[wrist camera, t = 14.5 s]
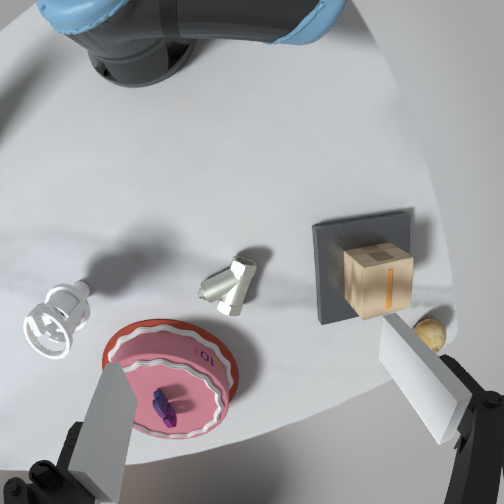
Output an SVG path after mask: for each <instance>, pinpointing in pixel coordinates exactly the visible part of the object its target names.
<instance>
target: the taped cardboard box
mask: <svg viewBox="0 0 504 504" xmlns="http://www.w3.org/2000/svg"><path fill="white" fill-rule="evenodd" d="M413 262H414V257H413V256H411V255H410V254H408V253H406V252H405V251H403V250H401V249H400V248H398V247H397V246H395V245H393V244H392V243H390V242H388V243H383V244H378V245H373V246H367V247H362V248H356V249H351V250H346V251H344V270H345V299H346V300H347V301H348V303H349V304H350V305H351V306H352V308H353V309H354V310H355V311H356V312H357V314H358V315H359V316H360V317H361V319H362V320H366V319H370V318H374V317H377V316H381V315H385V314H388V313H392V312H396V311H399V310H403V309H406V308H409V307H410V301H411V290H412V278H413Z"/></svg>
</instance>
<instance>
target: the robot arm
mask: <svg viewBox="0 0 504 504" xmlns="http://www.w3.org/2000/svg"><path fill="white" fill-rule="evenodd" d="M36 1H37V6H38V9H39V11H40V13H41V15H42V16H43V17H44V18H45V19H46V20H47V21H48V22H49V23H50V24H51V26H53V28H54V29H55V30H56V31H57V32H59V33H63V34H64V35H66V36H67V37H69V38H71V39H72V40H74V41H75V42H77V43H78V44H80V45H81V46H83V47H84V48H86V49H87V50H88V54H89V58H90V61H91V63H92V65H93V67H94V68H95V70H96V71H97V72H98V73H99V74H100V75H101V76H102V77H104V78H105V79H107V80H108V81H110V82H112V83H114V84H116V85H119V86H123V87H130V88H138V87H145V86H149V85H153V84H156V83H158V82H160V81H163V80H164V79H166V78H168V77H169V76H171V75H172V74H174V73H175V72H176V71H177V70H178V69H179V68H180V67H181V66H182V65H183V64H184V63H185V62H186V60H187V59H188V57H189V56H190V54H191V52H192V50H193V47H194V44H195V40H196V38H209V39H233V40H247V41H258V42H262V43H264V44H269V45H271V44H278V43H282V44H292V45H306V44H310V43H313V42H315V41H317V40H319V39H320V38H321V37H323V36H324V35H325V34H326V33H327V32H328V31H329V30H330V29H331V27H332V26H333V25H334V23H335V22H336V20H337V19H338V17H339V15H340V13H341V12H342V10H343V8H344V5H345V3H346V0H36ZM379 360H380V361H381V362H382V364H383V365H384V367H385V368H386V369H387V371H388V372H389V374H390V375H391V376H392V378H393V379H394V381H395V382H396V383H397V385H398V386H399V388H400V389H401V390H402V392H403V393H404V395H405V396H406V398H407V399H408V400H409V402H410V403H411V405H412V406H413V408H414V409H415V410H416V412H417V413H418V415H419V416H420V418H421V419H422V421H423V422H424V424H425V425H426V427H427V428H428V429H429V431H430V432H431V434H432V435H433V437H434V438H435V440H436V441H437V443H438V444H439V445H440V444H442V443H443V442H446V441H448V440H450V439H451V438H453V436H454V435H455V433H456V430H458V431H459V432H460V434H461V435H460V437H459V439H458V441H457V443H456V445H455V447H454V449H456V448H457V452H456V457H455V462H454V467H453V471H452V475H451V479H450V483H449V487H448V491H447V494H446V498H445V502H444V504H496V502H497V496H498V490H499V484H500V476H501V468H502V469H503V477H504V395H502V396H501V395H500V394H499V393H497V392H494V391H485V390H484V389H483V388H482V387H481V386H480V385H479V384H478V383H477V382H476V381H475V380H474V379H473V378H472V377H471V375H470V374H469V373H468V372H466V370H465V369H464V368H463V367H461V365H460V364H459V363H458V362H457V361H456V360H455V359H454V358H452V357H450V356H448V355H445V354H444V355H442V356H440V357H438V356H437V355H436V354H435V353H434V352H433V351H432V350H431V349H430V348H429V347H428V346H427V345H426V343H425V342H424V341H423V340H422V339H421V338H420V337H419V336H418V335H417V334H416V333H415V332H414V331H413V330H412V329H411V328H410V327H409V326H408V325H407V324H406V323H405V322H404V321H403V320H402V319H401V318H400V317H399V316H398V315H397V314H396V313H392V314H388V315H384V316H382V328H381V339H380V349H379ZM137 403H138V401H137V399H136V397H135V395H134V393H133V390H132V388H131V386H130V384H129V382H128V380H127V378H126V376H125V373H124V371H123V369H122V367H121V365H120V362H118V363H106V365H105V367H104V370H103V372H102V375H101V377H100V380H99V382H98V385H97V387H96V390H95V392H94V395H93V398H92V400H91V403H90V406H89V408H88V411H87V414H86V416H85V419H84V422H75V423H74V424H73V426H72V427H71V428H70V429H69V431H68V434H67V437H66V440H65V442H64V447H63V448H62V451H61V453H60V456H59V459H58V462H57V465H56V467H55V465H54V464H53V463H52V462H50V461H48V460H41V461H38V462H36V463H35V464H33V465H32V467H31V468H30V471H29V479H30V480H31V481H32V482H33V483H31V484H26V483H25V482H24V481H23V480H22V479H20V478H18V477H14V478H11V479H9V480H8V481H7V482H6V484H5V486H4V491H3V493H4V504H94V502H95V498H96V499H97V500H98V501H99V502H100V503H101V504H118V503H119V496H120V490H121V484H122V478H123V472H124V467H125V461H126V456H127V451H128V446H129V441H130V436H131V431H132V426H133V421H134V417H135V412H136V407H137ZM457 446H458V447H457Z"/></svg>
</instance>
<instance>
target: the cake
mask: <svg viewBox="0 0 504 504" xmlns="http://www.w3.org/2000/svg"><path fill="white" fill-rule="evenodd" d="M118 362H120V365H121V367H122V369H123V371H124V373H125V376H126V378H127V380H128V382H129V384H130V386H131V388H132V390H133V393H134V395H135V397H136V399H137V401H138V403H137V407H136V412H135V417H134V421H133V426H132V428H134V429H136V430H138V431H140V432H142V433H145V434H148V435H151V436H154V437H159V438H165V439H188V438H193V437H197V436H200V435H203V434H205V433H208V432H209V431H211V430H213V429H214V428H215V427H217V426H218V425H219V424H220V423H221V422H222V421H223V419H224V418H225V416H226V414H227V411H228V407H229V402H230V401H231V400H232V398H233V396H234V395H235V392H236V390H237V386H238V379H239V375H238V368H237V365H236V362H235V360H234V358H233V356H232V354H231V353H230V351H229V350H228V349H227V347H226V346H225V345H224V344H223V343H222V342H221V341H220V340H218V339H217V338H216V337H215V336H213V335H212V334H210V333H209V332H207V331H205V330H203V329H201V328H199V327H197V326H194V325H191V324H188V323H185V322H181V321H176V320H170V319H150V320H143V321H139V322H136V323H133V324H130V325H128V326H126V327H124V328H122V329H121V330H119V331H118V332H117V333H116V334H115V335H114V336H113V337H112V338H111V339H110V340H109V342H108V343H107V345H106V347H105V350H104V353H103V358H102V369H103V370H104V367H105V365H106V363H118Z"/></svg>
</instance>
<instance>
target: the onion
mask: <svg viewBox="0 0 504 504" xmlns="http://www.w3.org/2000/svg"><path fill="white" fill-rule="evenodd" d="M413 331H414V332H415V333H416V334H417V335H418V336H419V337H420V338H421V339H422V340H423V341H424V342H425V343H426V345H427V346H428V347H429V348H430V349H431V350H432V351H433V352H434V353H435V354H436V353H437V352H438V351H439V350H440V349H441V348H442V347H443V345H444V343H445V340H446V330H445V327H444V325H443V324H442V323H441V322H440V321H438V320H436V319H425V320H423V321H421V322H419V323H418V324H416V325H415V328H414V329H413ZM437 356H438V355H437ZM438 357H439V356H438Z"/></svg>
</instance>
